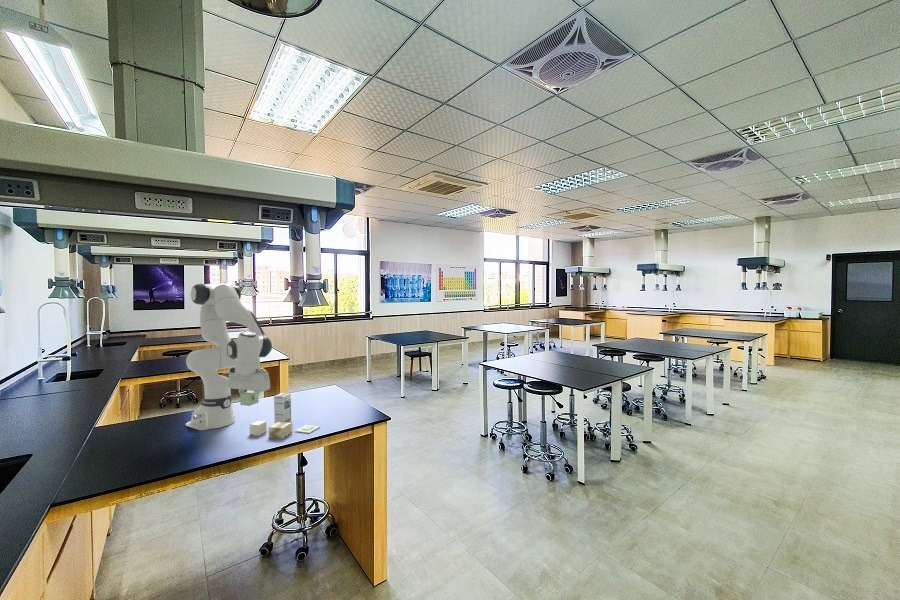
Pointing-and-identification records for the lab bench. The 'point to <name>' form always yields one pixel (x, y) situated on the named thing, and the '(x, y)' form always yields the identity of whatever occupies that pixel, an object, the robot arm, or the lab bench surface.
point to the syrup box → (282, 407)
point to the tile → (307, 429)
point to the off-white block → (258, 427)
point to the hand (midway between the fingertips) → (249, 399)
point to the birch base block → (280, 429)
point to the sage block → (247, 398)
